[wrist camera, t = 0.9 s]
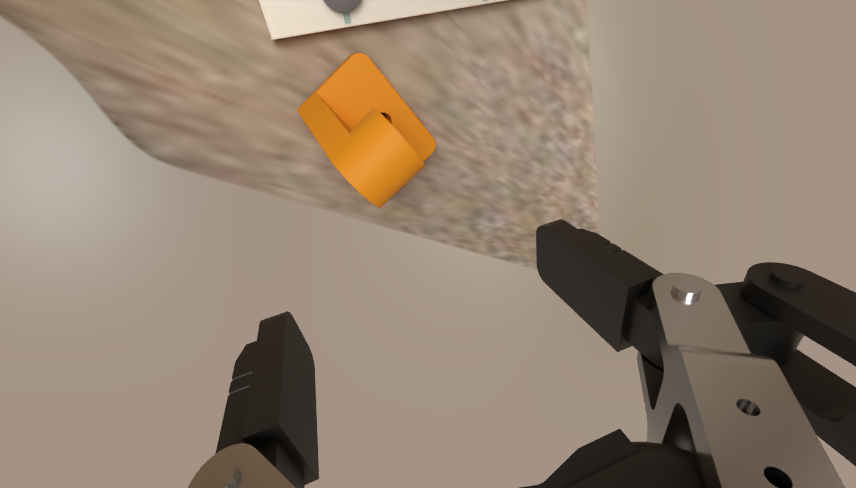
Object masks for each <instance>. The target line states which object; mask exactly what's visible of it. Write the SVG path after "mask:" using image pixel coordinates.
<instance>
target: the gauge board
mask: <svg viewBox="0 0 856 488" xmlns="http://www.w3.org/2000/svg"><path fill="white" fill-rule="evenodd" d="M502 1H508V0H259V2H260V5H261V8H262V11H263V14H264V17H265V20H266V23H267V26H268V28H269V31H270V34H271V37H272V40H277V39H283V38H289V37H295V36H301V35H307V34H312V33H318V32H324V31H330V30H336V29H342V28H348V27H354V26H360V25H366V24H372V23H378V22H383V21H389V20H395V19H401V18H407V17H413V16H419V15H425V14H431V13H437V12H443V11H449V10H454V9H460V8H466V7H472V6H478V5H484V4H490V3H496V2H502Z"/></svg>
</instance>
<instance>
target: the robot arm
mask: <svg viewBox="0 0 856 488" xmlns="http://www.w3.org/2000/svg"><path fill="white" fill-rule="evenodd" d="M536 249H537V269H538V272H539V275H540V277H541V278H542V280H543V281H544V282H545V283H546V284H547V285H548V286H549V287H550V288H551V289H552V290H553V291H554V292H555V293H556V294H557V295H558V296H559V297H560V298H561V299H562V300H564V302H565V303H567V304H568V305H569V306H570V307H571V308H572V309H573V310H574V311H575V312H576V313H577V314H578V315H579V316H580V317H581V318H582V319H583V320H584V321H586V323H588V324H589V325H590V326H591V327H592V328H593V329H594V330H595V331H596V332H597V333H598V334H599V335H600V336H601V337H602V338H603V339H604V340H605V341H606V342H607V343H609V344H610V345H611V346H612V347H613V348H614V349H615V350H616V351H617V352H619V351H621V350H624V349H626V348H628V347H630V346H634V347H635V348H636V349H637V350H638V354H637V362H638V368H639V373H640V379H641V385H642V391H643V397H644V402H645V409H646V414H647V427H648V428H647V442H631V441H630V440H629V439H628V438H627V437H626V435H625V434H624V433H623V432H622V431H621V429H618V430H616V431H614V432H612V433H610V434H608V435H606V436H604V437H602V438H600V439H597V440H595V441H593V442H591V443H589V444H587V445H585V446H583V447H581V448H578V449H577V450H576V451H575V452H574V453H573V454H572V455H571V456H570V457H569V458H568V459H567V460H566V461H565V462H564V463H563V464H562V465H561V466H560V467H559V468H558V469H557V470H556V471H555V472H554V473H553V474H552V475H551V476H550V477H549V478H548V479H547V480H546V481H544V482H543V483H541V484H539V485H535V486H528V487H521V488H845V486H844V485H843V483H842V481H841V479H840V478H839V476H838V474H837V472H836V470H835V468H834V466H833V464H832V463H831V461H830V459H829V457H828V455H827V453H826V452H825V450H824V448H823V446H822V445H821V443H820V441H819V439H818V437H817V436H819V437H820V438H821V439H822V440H823V441H825V442H826V443H827V444H828V445H830V446H831V447H832V448H834V449H835V450H836V451H837V452H838V453H840V454H841V455H842V456H844V457H845V458H846V459H847V460H849V461H850V462H851V463H852V464H854V465H855V466H856V387H854V386H853V385H851V384H850V383H848V382H846V381H845V380H843V379H842V378H840V377H839V376H837V375H836V374H834V373H833V372H831V371H829V370H828V369H826V368H825V367H823V366H822V365H820V364H819V363H817V362H816V361H814V360H812V359H811V358H809V357H808V356H806V355H804V354H803V353H802V352H800V351H799V350H797V349H796V348H797V347H798V345H799V343H800V341H801V340H802V338H803V336H804V335H805V336H807V337H808V338H810V339H812V340H813V341H815V342H816V343H818V344H820V345H821V346H823V347H825V348H827V349H828V350H830V351H831V352H833V353H835V354H837V355H838V356H840V357H841V358H843V359H845V360H846V361H848V362H850V363H851V364H853V365H854V366H856V293H855V292H853V291H851V290H849V289H847V288H844V287H842V286H840V285H838V284H836V283H834V282H832V281H830V280H827V279H825V278H823V277H821V276H819V275H817V274H815V273H812V272H810V271H808V270H805V269H803V268H800V267H797V266H793V265H789V264H783V263H772V262H768V263H759V264H755V265H753V266H752V267H750V268H749V270H748V271H747V274H746V276H745V279H744V281H743V282H736V283H727V284H718V285H713V284H712V283H710V282H708V281H707V280H704V279H702V278H700V277H697V276H694V275H690V274H684V273H669V274H662V273H660V272H659V271H657V270H655V269H654V268H652V267H650V266H649V265H647V264H646V263H644V262H643V261H641V260H639V259H638V258H636V257H634V256H633V255H631V254H630V253H628V252H626V251H625V250H623V251H622V250H621V248H620V247H618V246H617V245H615V244H613V243H612V244H611V243H610V241H608V240H607V239H605V238H604V237H602V236H600V235H599V234H597V233H594V232H590V231H587V230H584V229H577V228H575V227H574V226H572V225H571V224H569V223H567V222H566V221H564V220H562V219H560V220H557V221H554V222H551V223H548V224H545V225H542V226H539V227H538V228H537V231H536ZM232 380H233V381H232V382H231V385H230V389H229V394H230V395H229V396H228V399H227V403H226V408H225V413H224V417H223V422H222V427H221V431H220V436H219V441H218V445H217V450H216V454H215V455H214V456H212V457H211V458H210V459H209V460H208V461H207V462H206V463H205V464H204V465H203V466H202V467H201V468H200V470H199V471H198V472H197V473H196V474H195V476H194V478H193V479H192V481H191V483H190V485H189V486H188V488H304V485H306V484H308V483H310V482H313V481H315V480H317V479H319V467H318V441H317V417H316V393H315V391H316V390H315V367H314V361H313V356H312V353H311V350H310V348H309V346H308V344H307V342H306V340H305V338H304V337H303V335H302V333H301V331H300V329H299V327H298V325H297V323H296V322H295V320H294V318H293V316H292V315H291V314H290V312H288V311H287V312H285V313H282V314H279V315H276V316H273V317H270V318H267V319H264V320H262V321H261V322H260V324H259V331H258V338H257V341H255V342H252V343H250V344H247V345H246V346H245V347H244V349H243V351H242V352H241V354H240V355H239V357H238V358H237V360H236V362H235V366H234V371H233V376H232Z"/></svg>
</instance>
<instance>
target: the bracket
mask: <svg viewBox="0 0 856 488" xmlns="http://www.w3.org/2000/svg"><path fill="white" fill-rule="evenodd" d="M298 113H299V114H300V116H301V117H302V119H303V120H304V122H305V123H306V125H307V126H308V128H309V129H310V131H311V132H312V134H313V135H314V137H315V138H316V140H317V141H318V143H319V144H320V146H321V147H322V149H323V150H324V152H325V153H326V155H327V156H328V158H329V159H330V161H331V162H332V163H333V165H334V166H335V167H336V168H337V170H338V171H339V172H340V173H341V174H342V175H343V176H344V178H345V179H346V180H347V181H348V182H349V183H350V184H351V185H352V186H353V187H354V188H355V189H356V190H357V191H358V192H359V193H360V194H361V195H363V196H364V197H365V198H366V199H367V200H368V201H370V202H371V203H372V204H374V205H375V206H377V207H379V208H380V207H382V206H383V205H384V204H385V203H386V202H387V201H388V200H389V199H390V198H391V197H392V196H393V195H394V194H395V193H396V192H397V191H398V190H399V189H401V188H402V187H403V186H404V185H405V184H406V183H407V182H408V181H409V180H410V179H411V178H412V177H413V176H414V175H415V174H416V173H417V172H419V171H420V170H421V169H422V168H423V167H424V166H425V163H424V162H423V161H425V160H426V159H427V158H428V157H429V156H430V155H431V154H432V153H433V152H434V150H435V146H436V143H435V140H434V138H433V137H432V136H431V135H430V133H429V132H428V131H427V130H426V128H425V127H424V126H423V125H422V123H421V122H420V121H419V120H418V118H417V117H416V116H415V115H414V113H413V112H412V111H411V110H410V108H409V107H408V106H407V105H406V103H405V102H404V101H403V100H402V98H401V97H400V96H399V95H398V93H397V92H396V91H395V90H394V88H393V87H392V86H391V85H390V83H389V82H388V81H387V80H386V78H385V77H384V76H383V75H382V73H381V72H380V71H379V70H378V68H377V67H376V66H375V65H374V63H373V62H372V61H371V60H370V58H369V57H368V56H366V55H365V54H362V53H354V54H351V55H350V56H349V57H348V58H347V59H346V60H345V61H344V62H343V63H342V64H341V65H340V66H339V67H338V68H337V69H336V70H335V71H334V72H333V73H332V74H331V75H330V76H329V77H328V78H327V79H326V80H325V81H324V82H323V83H322V84H321V85H320V86H319V87H318V88H317V89H316V90H315V91H314V92H313V93H312V94H311V96H310V97H309V98H308V99H307V100H306V101H305V102H304V103H303V104H302V105H301V106H300V107H299V108H298ZM381 113H385V115H386V118H385V117H384V116H383V115H382V114H381Z"/></svg>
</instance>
